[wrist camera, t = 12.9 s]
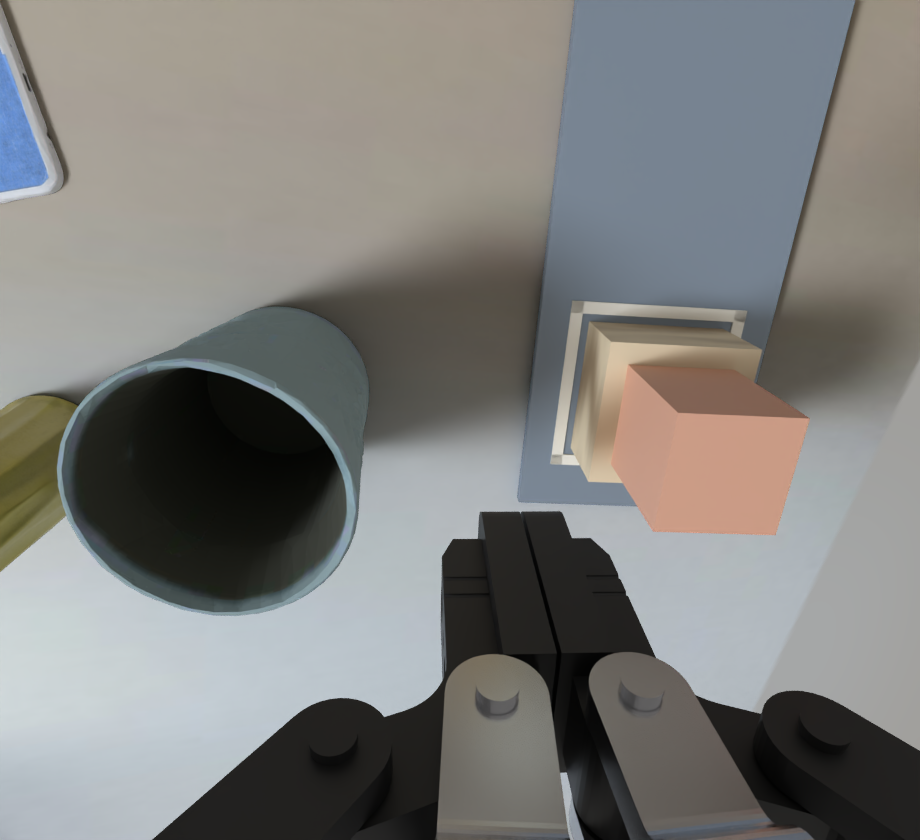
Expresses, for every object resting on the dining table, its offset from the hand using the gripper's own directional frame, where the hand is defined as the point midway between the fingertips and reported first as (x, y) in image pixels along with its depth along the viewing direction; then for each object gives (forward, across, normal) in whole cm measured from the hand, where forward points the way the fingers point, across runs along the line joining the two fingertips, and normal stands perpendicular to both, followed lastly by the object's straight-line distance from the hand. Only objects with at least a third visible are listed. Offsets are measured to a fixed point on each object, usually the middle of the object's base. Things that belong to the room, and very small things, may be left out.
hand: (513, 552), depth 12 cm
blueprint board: (+21, -10, -1) cm, 24 cm away
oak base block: (+21, -10, +4) cm, 23 cm away
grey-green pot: (+21, +9, +5) cm, 24 cm away
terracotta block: (+17, -10, +4) cm, 20 cm away
